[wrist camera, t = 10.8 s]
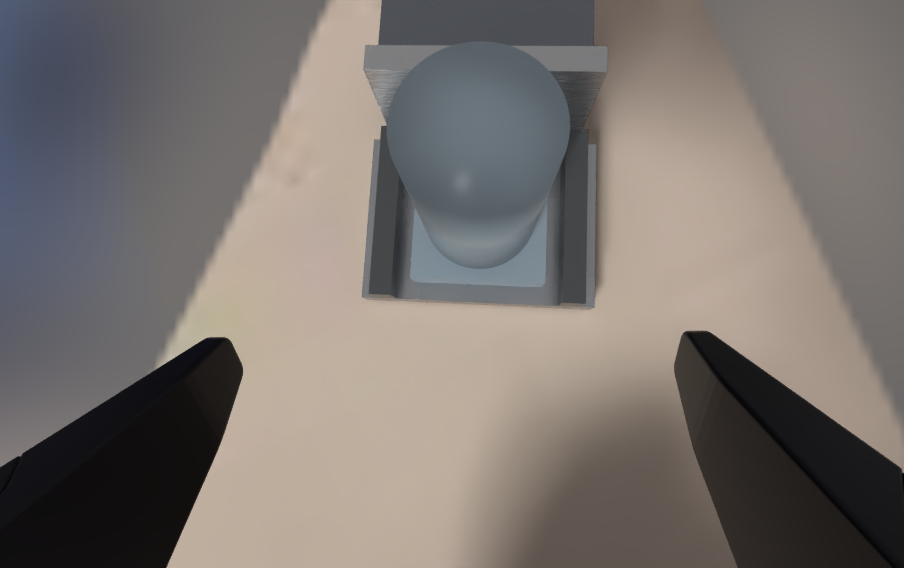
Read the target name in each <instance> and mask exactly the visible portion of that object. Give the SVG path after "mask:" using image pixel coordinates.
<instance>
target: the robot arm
mask: <svg viewBox="0 0 904 568" xmlns="http://www.w3.org/2000/svg"><path fill="white" fill-rule="evenodd" d="M674 372H675V377H676V381H677V385H678V390H679V394H680V398H681V402H682V406H683V410H684V414H685V418H686V422H687V426H688V430H689V434H690V438H691V442H692V446H693V449H694V452H695V455H696V458H697V461H698V463H699V466H700V469H701V471H702V474H703V477H704V479H705V482H706V485H707V487H708V490H709V493H710V495H711V498H712V501H713V503H714V506H715V509H716V511H717V514H718V517H719V519H720V522H721V525H722V527H723V530H724V533H725V535H726V538H727V541H728V543H729V546H730V549H731V551H732V554H733V556H734V559H735V562H736V564H737V567H738V568H904V473H903V472H902V469H901V468H900V467H899V466H897V465H896V464H895V463H893V462H892V461H890V460H889V459H887V458H886V457H885V456H883V455H882V454H880V453H879V452H878V451H876V450H875V449H873V448H872V447H871V446H869V445H868V444H866V443H865V442H864V441H862V440H861V439H859V438H858V437H857V436H855V435H854V434H852V433H851V432H850V431H848V430H847V429H845V428H844V427H843V426H841V425H840V424H838V423H837V422H836V421H834V420H833V419H831V418H830V417H829V416H827V415H826V414H824V413H823V412H821V411H820V410H819V409H817V408H816V407H814V406H813V405H812V404H810V403H809V402H807V401H806V400H805V399H803V398H802V397H800V396H799V395H798V394H796V393H795V392H793V391H792V390H791V389H789V388H788V387H786V386H785V385H784V384H782V383H781V382H779V381H778V380H777V379H775V378H774V377H772V376H771V375H770V374H768V373H767V372H765V371H764V370H763V369H761V368H760V367H758V366H757V365H755V364H754V363H753V362H751V361H750V360H748V359H747V358H746V357H744V356H743V355H741V354H740V353H739V352H737V351H736V350H734V349H733V348H732V347H730V346H729V345H727V344H726V343H725V342H723V341H722V340H720V339H719V338H718V337H716V336H715V335H713V334H712V333H710V332H708V331H686V332H684V333H683V335H682V337H681V340H680V344H679V348H678V351H677V355H676V359H675V363H674ZM242 376H243V367H242V363H241V361H240V359H239V357H238V355H237V353H236V351H235V349H234V347H233V345H232V343H231V341H230V340H229V339H228V338H225V337H210V338H206V339H204V340H202V341H201V342H199V343H197V344H196V345H194V346H193V347H191V348H190V349H188V350H186V351H185V352H183V353H182V354H180V355H178V356H177V357H175V358H174V359H172V360H170V361H169V362H167V363H166V364H164V365H162V366H161V367H159V368H158V369H156V370H155V371H153V372H151V373H150V374H148V375H147V376H145V377H143V378H142V379H140V380H139V381H137V382H135V383H134V384H133V385H131V386H129V387H128V388H126V389H124V390H123V391H121V392H120V393H118V394H116V395H115V396H113V397H112V398H110V399H109V400H107V401H105V402H104V403H102V404H100V405H99V406H97V407H96V408H94V409H92V410H91V411H89V412H88V413H86V414H85V415H83V416H81V417H80V418H79V419H77V420H75V421H74V422H72V423H70V424H69V425H67V426H66V427H64V428H62V429H61V430H59V431H57V432H56V433H54V434H53V435H51V436H50V437H48V438H46V439H45V440H43V441H42V442H40V443H38V444H37V445H35V446H34V447H32V448H31V449H29V450H27V451H26V452H24V453H23V454H22V456H18V457H16V458H15V459H13V460H11V461H10V462H8V463H6V464H5V465H3V466H2V467H0V568H166V567H167V565H168V563H169V560H170V558H171V556H172V554H173V551H174V549H175V547H176V545H177V542H178V540H179V538H180V535H181V533H182V531H183V529H184V526H185V524H186V522H187V519H188V517H189V515H190V513H191V510H192V508H193V506H194V504H195V501H196V499H197V497H198V494H199V492H200V490H201V488H202V485H203V483H204V481H205V478H206V476H207V474H208V472H209V469H210V467H211V465H212V463H213V460H214V458H215V456H216V453H217V451H218V449H219V446H220V444H221V441H222V438H223V435H224V433H225V430H226V426H227V423H228V420H229V417H230V414H231V411H232V408H233V405H234V401H235V398H236V395H237V392H238V389H239V386H240V383H241V380H242Z"/></svg>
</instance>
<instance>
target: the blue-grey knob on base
mask: <svg viewBox="0 0 904 568" xmlns="http://www.w3.org/2000/svg"><path fill="white" fill-rule="evenodd" d="M569 134H570V115H569V110H568V105H567V102H566V99H565V96H564V93H563V91H562V89H561V88H560V86H559V84H558V82H557V81H556V79H555V78H554V76H553V75H552V74H551V73H550V72H549V71H548V69H547V68H546V67H545V66H544V65H543V64H541V63H540V62H539V61H538V60H537V59H535V58H534V57H532V56H531V55H529V54H527V53H526V52H524V51H521V50H519V49H517V48H515V47H512V46H509V45H506V44H501V43H496V42H486V41H475V42H466V43H460V44H456V45H453V46H449V47H446V48H444V49H442V50H439V51H437V52H435V53H433V54H432V55H430V56H428V57H427V58H425V59H424V60H423V61H421V62H420V63H419V64H417V65H416V66H415V67H414V68H413V69H412V70H411V71H410V72H409V73H408V74H407V76H406V77H405V78H404V80H403V81H402V82H401V84H400V86H399V87H398V89H397V91H396V92H395V95H394V97H393V99H392V102H391V105H390V108H389V112H388V118H387V142H388V148H389V152H390V155H391V158H392V161H393V163H394V165H395V167H396V170H397V172H398V174H399V176H400V178H401V180H402V182H403V184H404V186H405V188H406V190H407V192H408V194H409V196H410V198H411V200H412V202H413V204H414V206H415V208H414V224H413V239H412V254H411V269H410V278H411V279H412V280H413V281H414V282H428V283H451V284H474V285H498V286H521V287H542V286H543V285H544V284H545V272H546V234H547V196H548V194H549V192H550V189H551V187H552V184H553V182H554V180H555V177H556V175H557V172H558V170H559V167H560V165H561V163H562V160H563V158H564V155H565V152H566V150H567V145H568V141H569Z"/></svg>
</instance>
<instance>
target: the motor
mask: <svg viewBox="0 0 904 568" xmlns="http://www.w3.org/2000/svg"><path fill="white" fill-rule="evenodd" d="M475 41H486V42H496V43H501V44H506V45H509V46H512V47H515V48H517V49H519V50H521V51H524V52H526V53H527V54H529V55H531V56H532V57H534V58H535V59H537V60H538V61H539V62H540V63H541V64H543V65H544V66H545V67H546V68H547V69H548V71H549V72H550V73H551V74H552V75H553V76H554V78H555V79H556V81H557V82H558V84H559V86H560V88H561V89H562V91H563V93H564V96H565V99H566V102H567V105H568V110H569V115H570V134H569V141H568V145H567V150H566V152H565V155H564V158H563V160H562V163H561V165H560V167H559V170H558V172H557V175H556V177H555V180H554V182H553V184H552V187H551V189H550V192H549V194H548V196H547V234H546V272H545V284H544V285H543V286H542V287H521V286H498V285H474V284H451V283H428V282H414V281H413V280H412V279H411V278H410V269H411V254H412V239H413V224H414V208H415V206H414V204H413V202H412V200H411V198H410V196H409V194H408V192H407V190H406V188H405V186H404V184H403V182H402V180H401V178H400V176H399V174H398V172H397V170H396V167H395V165H394V163H393V161H392V158H391V155H390V152H389V148H388V142H387V126H381V139H380V140H374V150H373V162H372V175H371V188H370V200H369V213H368V225H367V238H366V251H365V263H364V276H363V289H362V297H363V298H365V299H373V300H395V301H417V302H438V303H460V304H482V305H503V306H525V307H547V308H569V309H592V308H594V301H595V214H596V144H588V130H585V129H582V128H583V126H584V123H585V121H586V119H587V117H588V114H589V112H590V110H591V108H592V105H593V103H594V101H595V99H596V96H597V94H598V92H599V90H600V87H601V85H602V83H603V81H604V78H605V76H606V74H607V66H608V46H594V0H382V6H381V19H380V31H379V44H378V45H365V56H364V68H363V70H364V72H365V74H366V77H367V79H368V81H369V84H370V86H371V88H372V91H373V93H374V95H375V98H376V100H377V102H378V105H379V107H380V109H381V112H382V114H383V116H384V118H385V121H386V123H387V118H388V112H389V108H390V105H391V102H392V99H393V97H394V95H395V92H396V91H397V89H398V87H399V86H400V84H401V82H402V81H403V80H404V78H405V77H406V76H407V74H408V73H409V72H410V71H411V70H412V69H413V68H414V67H415V66H416V65H417V64H419V63H420V62H421V61H423V60H424V59H425V58H427V57H428V56H430V55H432V54H433V53H435V52H437V51H439V50H442V49H444V48H446V47H449V46H453V45H456V44H460V43H466V42H475Z"/></svg>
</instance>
